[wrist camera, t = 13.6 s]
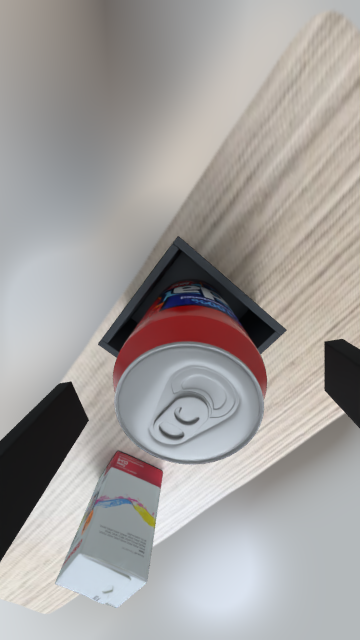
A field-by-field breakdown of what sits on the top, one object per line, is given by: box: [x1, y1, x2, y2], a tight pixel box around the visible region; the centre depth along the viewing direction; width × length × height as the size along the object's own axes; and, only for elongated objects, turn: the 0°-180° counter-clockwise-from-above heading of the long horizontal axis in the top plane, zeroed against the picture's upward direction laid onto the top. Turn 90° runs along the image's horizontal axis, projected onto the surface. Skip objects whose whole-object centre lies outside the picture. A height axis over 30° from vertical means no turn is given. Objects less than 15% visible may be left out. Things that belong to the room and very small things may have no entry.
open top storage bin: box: [98, 236, 287, 357], centre depth 20 cm, size 11×11×8 cm
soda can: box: [113, 279, 267, 464], centre depth 16 cm, size 8×8×15 cm
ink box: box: [55, 451, 163, 608], centre depth 28 cm, size 9×9×12 cm
